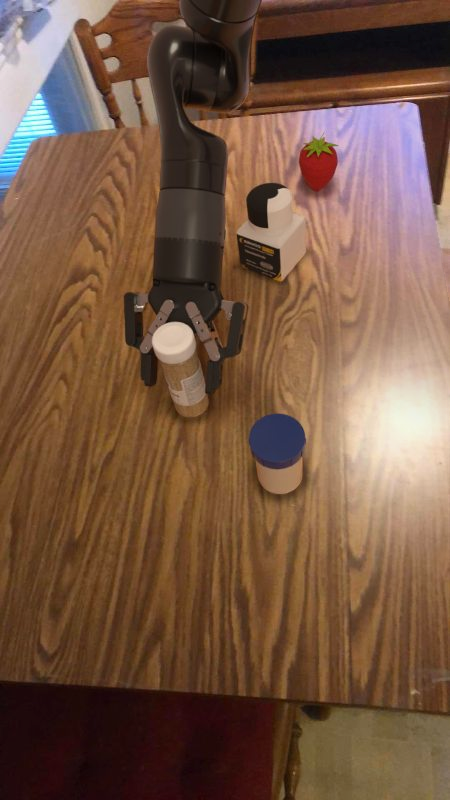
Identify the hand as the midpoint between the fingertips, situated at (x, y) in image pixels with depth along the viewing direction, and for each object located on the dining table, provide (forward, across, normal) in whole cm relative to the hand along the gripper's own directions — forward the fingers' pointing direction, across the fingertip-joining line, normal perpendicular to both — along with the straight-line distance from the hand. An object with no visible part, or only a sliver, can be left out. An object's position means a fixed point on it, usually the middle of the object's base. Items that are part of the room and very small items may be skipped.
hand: (180, 388), depth 64 cm
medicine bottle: (-15, +5, +25) cm, 29 cm away
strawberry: (-28, +9, +37) cm, 47 cm away
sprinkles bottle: (+3, 0, +6) cm, 7 cm away
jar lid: (+3, +12, -6) cm, 14 cm away
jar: (+9, +12, 0) cm, 15 cm away
